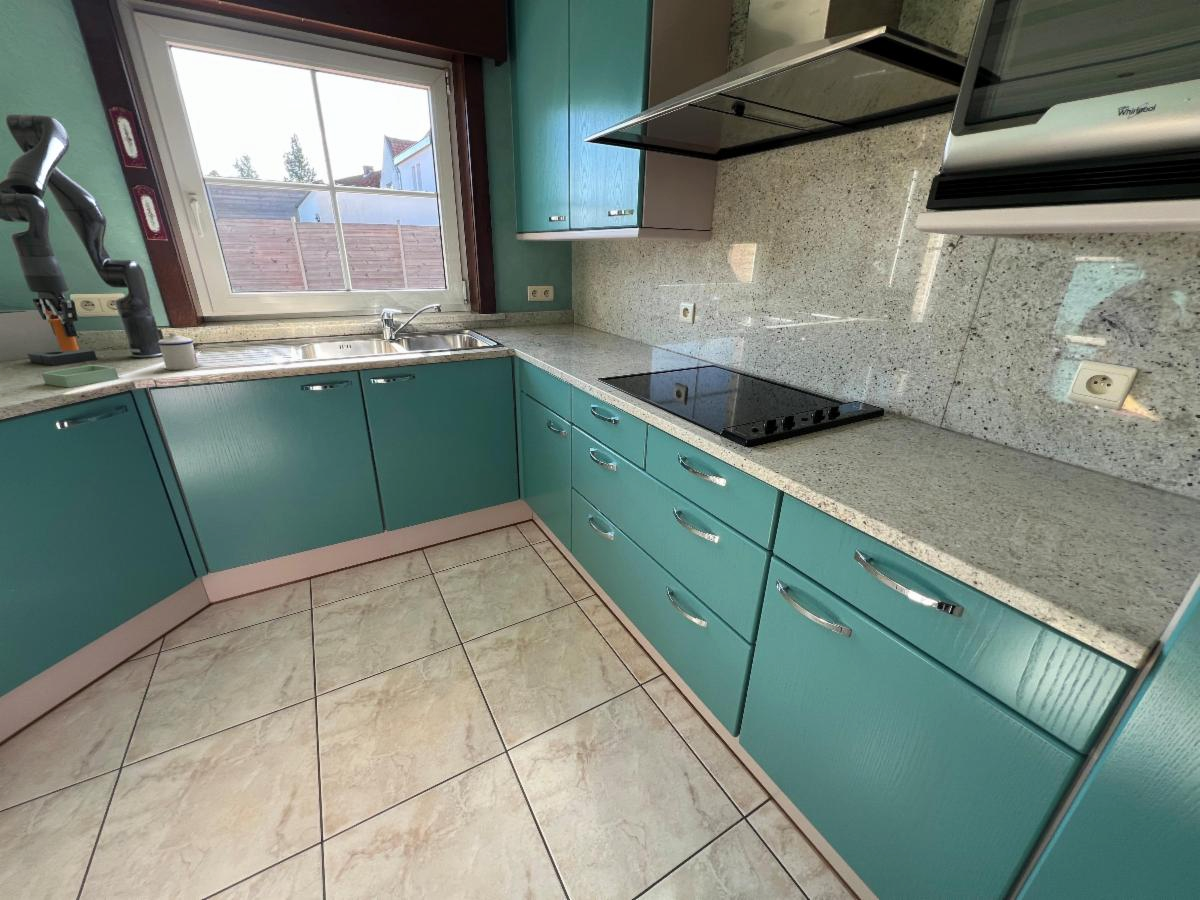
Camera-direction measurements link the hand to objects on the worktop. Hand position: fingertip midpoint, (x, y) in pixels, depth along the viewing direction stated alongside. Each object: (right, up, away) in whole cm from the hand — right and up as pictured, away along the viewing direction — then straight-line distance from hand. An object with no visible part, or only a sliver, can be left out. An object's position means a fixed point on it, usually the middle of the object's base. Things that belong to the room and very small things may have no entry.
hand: (66, 335), depth 142 cm
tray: (0, -12, +5) cm, 13 cm away
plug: (0, -4, +1) cm, 4 cm away
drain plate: (-32, -2, +29) cm, 43 cm away
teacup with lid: (+12, -5, +25) cm, 28 cm away
